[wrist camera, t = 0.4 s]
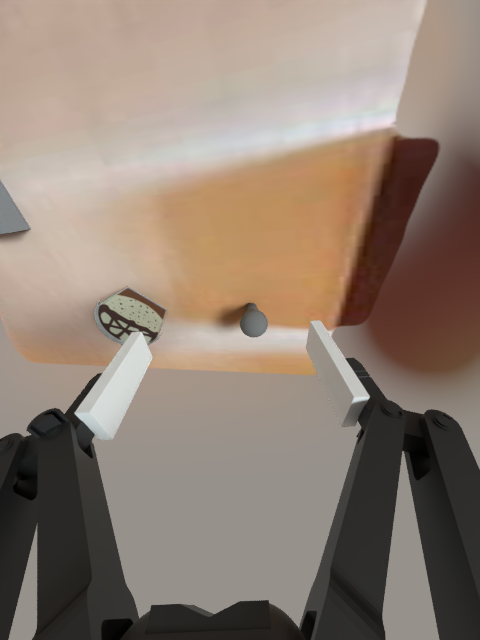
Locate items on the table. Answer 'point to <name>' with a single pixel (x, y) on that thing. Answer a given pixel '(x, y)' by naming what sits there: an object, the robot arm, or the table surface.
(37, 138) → the table surface
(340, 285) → the table surface
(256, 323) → the light bulb
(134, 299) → the food container
